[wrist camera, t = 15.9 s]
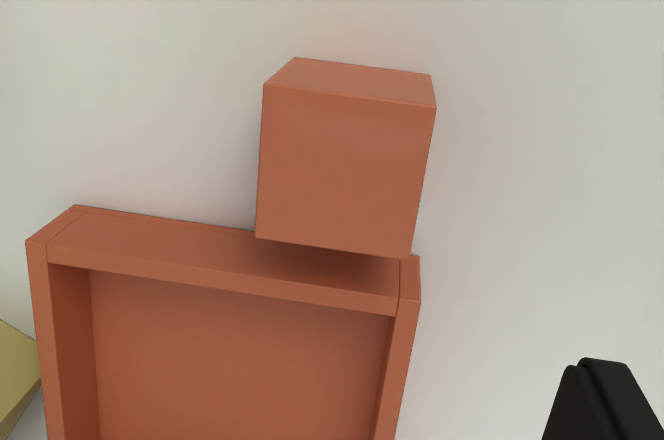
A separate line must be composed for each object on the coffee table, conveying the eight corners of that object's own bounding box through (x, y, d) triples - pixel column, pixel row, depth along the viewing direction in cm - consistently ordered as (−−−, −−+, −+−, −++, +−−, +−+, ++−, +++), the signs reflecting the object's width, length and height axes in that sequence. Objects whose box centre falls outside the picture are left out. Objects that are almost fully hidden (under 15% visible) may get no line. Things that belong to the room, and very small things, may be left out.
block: (431, 74, 21) (437, 105, 17) (408, 202, 23) (408, 261, 19) (293, 56, 22) (262, 82, 17) (283, 184, 24) (253, 238, 19)
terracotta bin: (419, 255, 24) (421, 302, 21) (371, 509, 30) (367, 576, 27) (73, 203, 25) (23, 240, 22) (93, 460, 31) (56, 519, 28)
